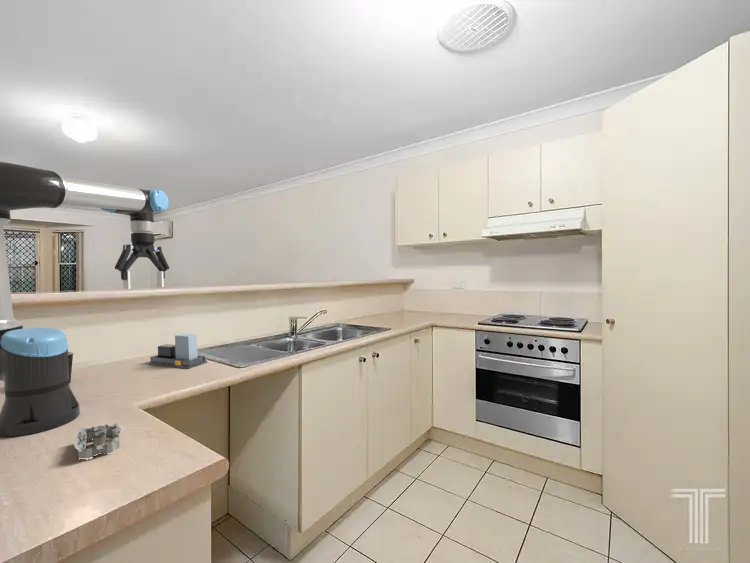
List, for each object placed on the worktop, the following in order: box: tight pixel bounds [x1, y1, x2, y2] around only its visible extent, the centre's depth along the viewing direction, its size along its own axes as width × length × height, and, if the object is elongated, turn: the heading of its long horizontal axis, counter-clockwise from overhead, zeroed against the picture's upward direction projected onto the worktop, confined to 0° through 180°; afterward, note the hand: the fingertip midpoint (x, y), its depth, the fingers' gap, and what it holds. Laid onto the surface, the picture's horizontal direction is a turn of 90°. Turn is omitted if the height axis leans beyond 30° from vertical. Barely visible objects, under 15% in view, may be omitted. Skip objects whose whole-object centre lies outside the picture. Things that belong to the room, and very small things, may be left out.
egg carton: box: [73, 423, 121, 458], centre depth 75 cm, size 11×8×4 cm
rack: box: [148, 343, 208, 370], centre depth 140 cm, size 9×21×7 cm, turn 70°
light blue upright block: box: [174, 333, 199, 360], centre depth 138 cm, size 4×7×11 cm, turn 70°
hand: (144, 288), depth 135 cm, fingers open, 13 cm apart
